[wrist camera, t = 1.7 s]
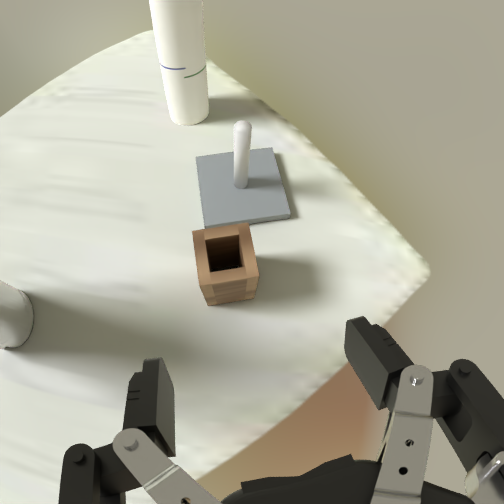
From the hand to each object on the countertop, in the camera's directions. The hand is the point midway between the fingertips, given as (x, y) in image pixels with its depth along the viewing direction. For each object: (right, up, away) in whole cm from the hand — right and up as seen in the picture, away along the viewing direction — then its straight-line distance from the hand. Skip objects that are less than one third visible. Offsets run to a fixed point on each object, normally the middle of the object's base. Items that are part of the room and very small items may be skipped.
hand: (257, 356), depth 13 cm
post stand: (-2, +14, +34) cm, 37 cm away
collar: (-3, +1, +29) cm, 29 cm away
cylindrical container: (-11, +29, +40) cm, 51 cm away
